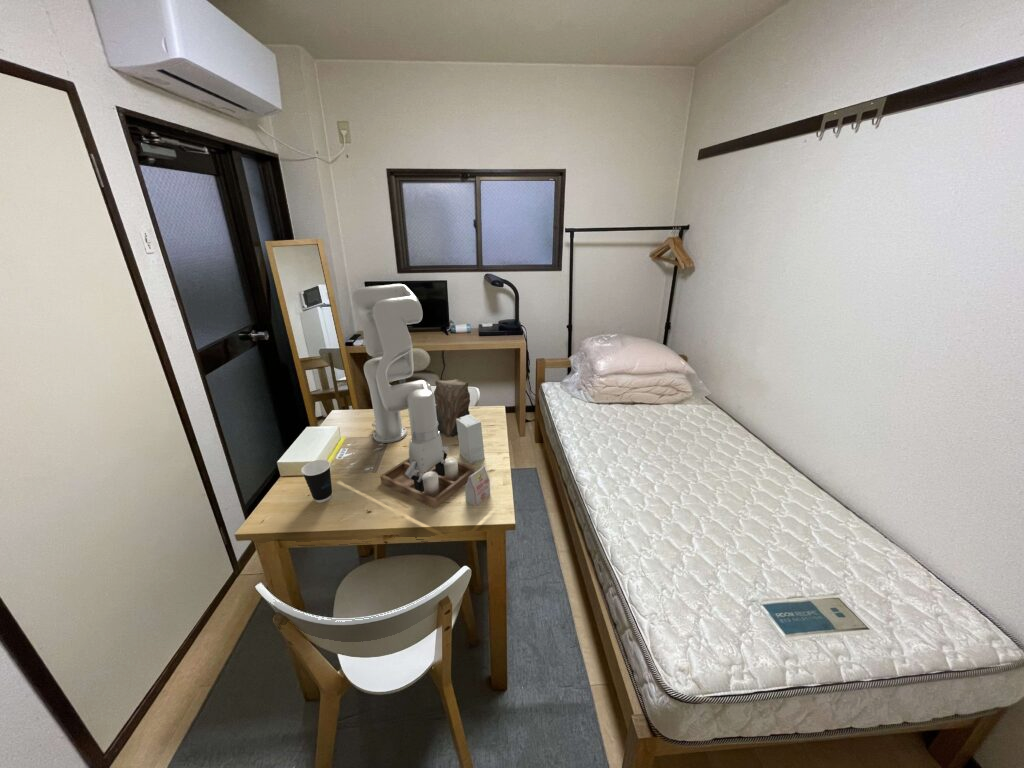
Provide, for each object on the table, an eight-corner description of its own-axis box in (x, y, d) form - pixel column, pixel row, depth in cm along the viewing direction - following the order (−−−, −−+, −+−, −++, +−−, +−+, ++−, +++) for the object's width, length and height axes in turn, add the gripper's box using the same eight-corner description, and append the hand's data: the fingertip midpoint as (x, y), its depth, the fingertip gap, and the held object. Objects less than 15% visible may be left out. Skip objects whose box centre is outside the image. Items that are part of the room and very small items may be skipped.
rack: (381, 485, 129) (380, 475, 128) (424, 457, 144) (423, 448, 142) (435, 510, 117) (434, 501, 116) (476, 477, 132) (475, 468, 130)
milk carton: (466, 503, 120) (463, 475, 116) (481, 491, 125) (479, 464, 121) (475, 508, 118) (473, 479, 114) (490, 496, 123) (489, 468, 119)
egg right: (441, 478, 130) (439, 462, 128) (450, 471, 134) (449, 456, 131) (452, 483, 128) (450, 467, 125) (461, 475, 131) (460, 460, 129)
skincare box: (485, 460, 141) (483, 422, 135) (469, 465, 138) (466, 427, 132) (473, 449, 147) (471, 412, 142) (458, 454, 144) (455, 417, 139)
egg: (421, 494, 123) (418, 477, 121) (431, 486, 127) (429, 469, 124) (432, 499, 121) (430, 482, 118) (442, 490, 124) (441, 474, 122)
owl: (433, 427, 164) (428, 381, 156) (460, 418, 171) (457, 373, 163) (447, 439, 154) (442, 391, 147) (476, 430, 161) (473, 383, 153)
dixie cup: (311, 491, 127) (303, 461, 122) (338, 487, 128) (332, 457, 124) (306, 508, 120) (298, 476, 115) (335, 503, 121) (328, 472, 117)
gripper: (436, 416, 124) (440, 464, 131) (392, 442, 111) (399, 493, 118) (454, 422, 121) (458, 471, 127) (411, 449, 107) (418, 502, 114)
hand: (430, 482), depth 123 cm, fingers open, 8 cm apart
